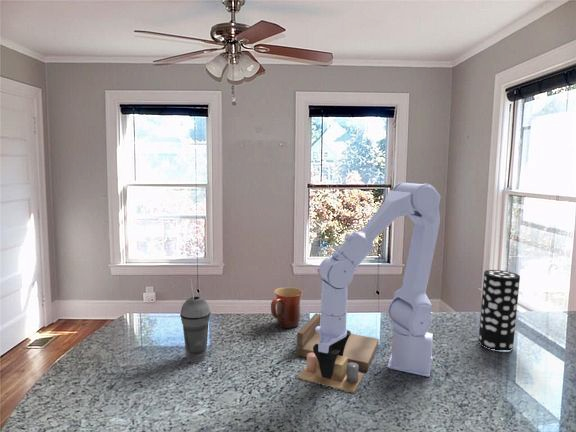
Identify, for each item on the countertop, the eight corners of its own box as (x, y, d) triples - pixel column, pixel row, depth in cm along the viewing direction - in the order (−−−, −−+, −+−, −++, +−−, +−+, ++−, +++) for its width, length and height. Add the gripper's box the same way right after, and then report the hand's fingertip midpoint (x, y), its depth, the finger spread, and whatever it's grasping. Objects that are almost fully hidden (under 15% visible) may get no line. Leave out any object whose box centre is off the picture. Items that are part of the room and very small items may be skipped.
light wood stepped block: (378, 345, 102) (379, 324, 102) (367, 371, 90) (368, 346, 89) (315, 333, 109) (315, 313, 109) (296, 355, 97) (297, 332, 96)
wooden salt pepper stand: (364, 377, 88) (365, 357, 87) (354, 395, 81) (355, 373, 80) (311, 364, 93) (312, 344, 93) (298, 380, 86) (298, 359, 86)
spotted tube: (504, 339, 108) (510, 270, 105) (519, 353, 99) (526, 279, 97) (473, 337, 108) (479, 269, 106) (485, 351, 100) (492, 277, 98)
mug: (285, 316, 122) (285, 285, 120) (308, 323, 116) (308, 291, 115) (260, 328, 112) (260, 295, 111) (283, 337, 107) (284, 301, 106)
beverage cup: (203, 367, 90) (202, 285, 88) (175, 363, 92) (173, 283, 89) (215, 352, 97) (215, 276, 95) (189, 349, 99) (187, 274, 96)
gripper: (326, 298, 93) (324, 351, 95) (305, 320, 80) (304, 380, 82) (354, 303, 90) (352, 357, 92) (338, 326, 77) (335, 388, 79)
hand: (331, 368), depth 87 cm, fingers open, 7 cm apart
